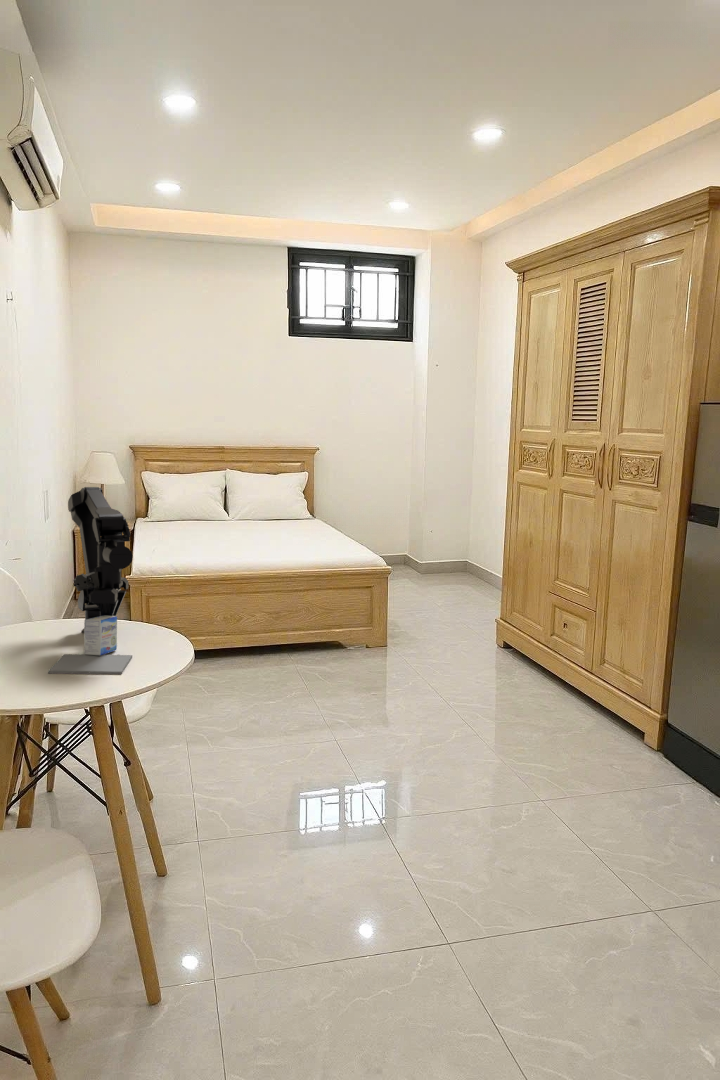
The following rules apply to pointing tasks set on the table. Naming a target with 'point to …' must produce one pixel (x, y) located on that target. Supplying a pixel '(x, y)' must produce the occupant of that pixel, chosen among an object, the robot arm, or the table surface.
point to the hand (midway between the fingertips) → (109, 622)
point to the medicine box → (100, 635)
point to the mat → (90, 664)
